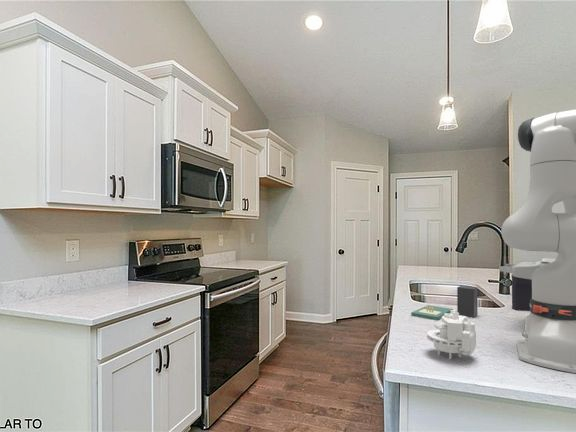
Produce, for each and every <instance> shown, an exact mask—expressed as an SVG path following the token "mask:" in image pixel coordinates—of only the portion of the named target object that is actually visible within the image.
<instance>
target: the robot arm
mask: <svg viewBox="0 0 576 432" xmlns="http://www.w3.org/2000/svg"><path fill="white" fill-rule="evenodd" d="M517 141H518V143H519V145H520V147H521V149H523V150H524V151H526V152H530V157H529V175H530V176H529V186H528V188H529V189H528V194H527V197H526V199H525V201H524V202H523V204H522V205H521V206H520V208H519V209H518V210H516V211H515V212H514V213H513V214H511V215H509V216H508V217H507V218H506V219H505V220H504V221H503V223H502V226H501V237H502V240H503V241H504V243H505V244H506V245H507V246H508V247H509V248H512V249H514V250H515V249H517V250H521V251H526V252H548V253H549V252H550V253H552V252H553V253H557V256H556V258H550V257H542V258H541V260H538V261H537V260H536V262H533V261H532V262H530V261H522V262H519V263H511V264H510V263H505V264H504V266H503V265H502V266H499V269H498V270H499V272H503V273H508V274H511V276H512V275H513V276H514V277H518V278H524V279H530V280H532V298H531V299H530V311H529V314H528V315H526V316H525V318H524V332H522V334H521V335H522V337H523V338H525V339H524V340H522V339H521V340H520V339H519V340H516V343H515V344H516V349H517V355H518V356H517V357H518V359H520V360H521V361H524V362H526V363H529V364H531V365H532V364H533V365H536V366H540V367H544V368H548V369H552V370H556V371H557V370H558V371H562V372H567V373H574V374H576V108H575V109H569V110H563V111H555V112H551V113H547V114H545V115H541V116H539V117H532V118H529V119H526V120H525V121H523V122H521V124H519V126H518V129H517ZM561 202H562V203H563V207H564V212H553V207H554V205H555V204H558V203H561Z"/></svg>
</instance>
